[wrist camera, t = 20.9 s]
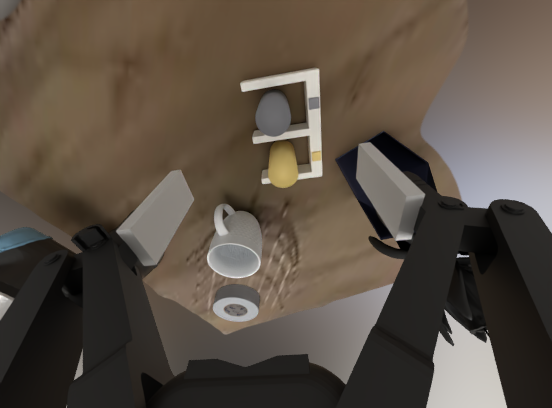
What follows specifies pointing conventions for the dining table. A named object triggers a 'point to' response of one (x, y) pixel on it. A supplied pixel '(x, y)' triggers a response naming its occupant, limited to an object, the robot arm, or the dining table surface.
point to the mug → (235, 243)
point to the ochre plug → (282, 164)
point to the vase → (463, 286)
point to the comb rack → (296, 130)
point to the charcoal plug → (273, 113)
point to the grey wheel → (236, 303)
